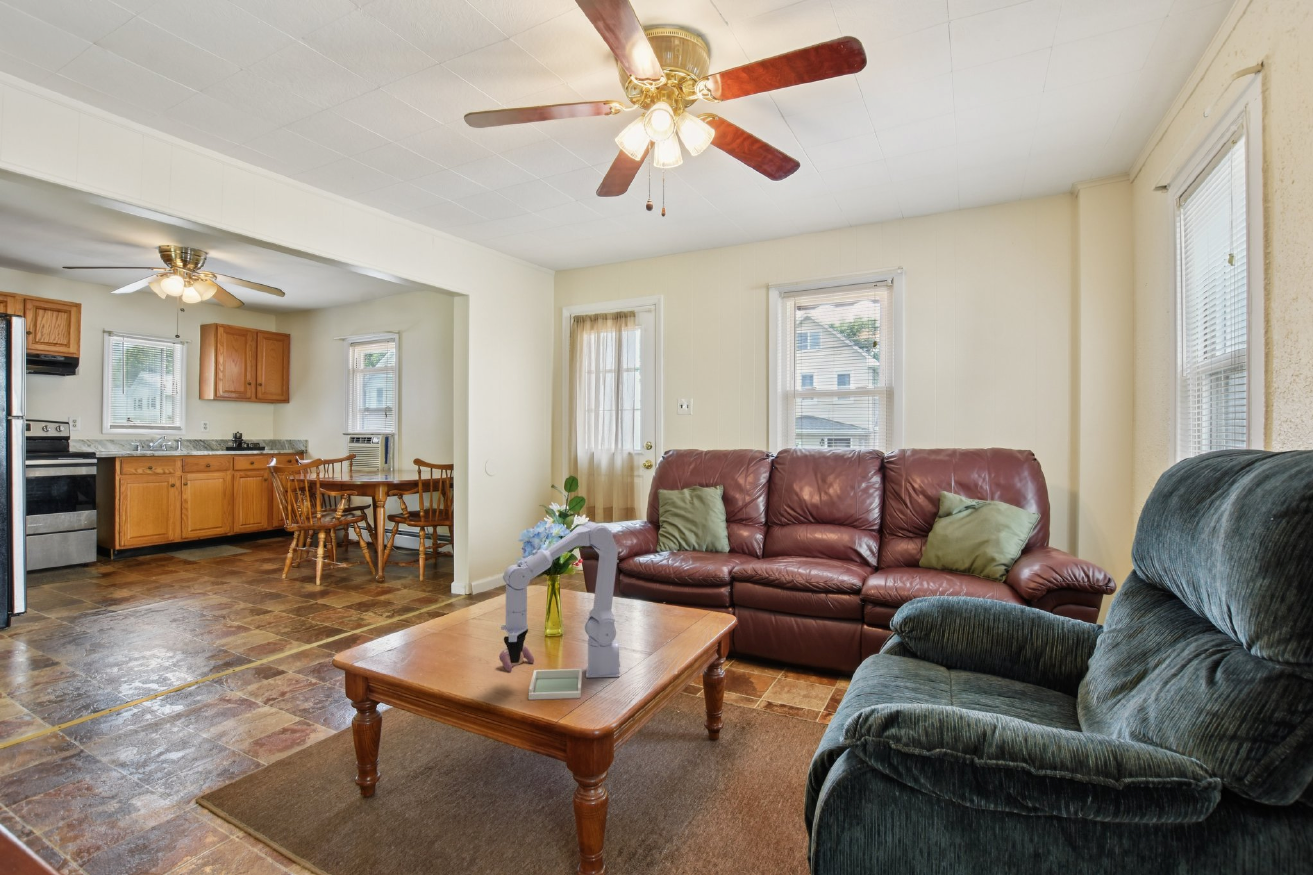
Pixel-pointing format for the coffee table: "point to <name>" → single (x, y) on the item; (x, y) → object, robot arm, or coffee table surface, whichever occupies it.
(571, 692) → the tray
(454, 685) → the coffee table surface
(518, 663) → the ball
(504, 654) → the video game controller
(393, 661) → the coffee table surface
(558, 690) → the mat
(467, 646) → the coffee table surface
